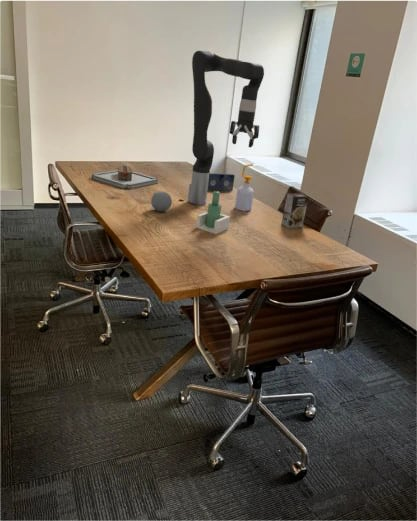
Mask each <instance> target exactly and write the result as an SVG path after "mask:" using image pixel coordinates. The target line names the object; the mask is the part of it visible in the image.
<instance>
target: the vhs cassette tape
mask: <svg viewBox="0 0 417 521" xmlns="http://www.w3.org/2000/svg"><path fill="white" fill-rule="evenodd" d="M235 177H236V176H235V174H231V173H229V174H227V173H212V172H211V173H210V174H209V182H208V190H207V191H221V190H226V191H228V192H229V191H230V192H232V190H233V189H234V183H235ZM226 191H225V192H226ZM233 191H234V190H233Z"/></svg>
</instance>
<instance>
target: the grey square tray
mask: <svg viewBox="0 0 417 521" xmlns="http://www.w3.org/2000/svg"><path fill="white" fill-rule="evenodd" d="M91 180H93V181H96V182H100V183H103V184H106V185H109V186H113V187H115V188H118V189H122V190H126V189H127V190H135V189H138V188H139V189H140V188H143V187H148V186H153V185H157V184H158V183H159V179H158V177H156V176H155V177H154V176H151V175H147V174H144V173H141V172H137V171H134V170H132V167H131V166H127V165H118V167H117V169H114V170H107V171H103V172H95V173H91Z"/></svg>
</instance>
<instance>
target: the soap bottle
mask: <svg viewBox="0 0 417 521" xmlns="http://www.w3.org/2000/svg"><path fill="white" fill-rule="evenodd" d="M252 166H254V163H249V164H245V165H244V167H243V169H242V178H244V179H245V180H244V181H243V185H241V186H239V187H238V188H237V190H236V197H235V201H234V202H235V203H234V208H235V209H236V210H239V211H243V212H244V211H245V212H248V211H251V210H252V206H253V200H254V194H255V192H254V189H253V188H252V187H250V185H251V182H250V180H251V179H253V176H252V175H245V169H246V168H247V167H252Z"/></svg>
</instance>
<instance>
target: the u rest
mask: <svg viewBox="0 0 417 521" xmlns="http://www.w3.org/2000/svg"><path fill="white" fill-rule="evenodd" d="M207 212H208V211H206V212H203V213H199V214H198V215H197V216H196V217H197V218H196V224H195V228H196V229H200V230H201V231H206V232H208V233H211V234H215V235H218V234H220V233H222V232H225V231H226V230H228V229H229V226H230V220H231V216H229V215H226V214H222V213H220V219H218V220H216V221H215V225H214V228H210V227H207V226H206V220H207Z"/></svg>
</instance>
